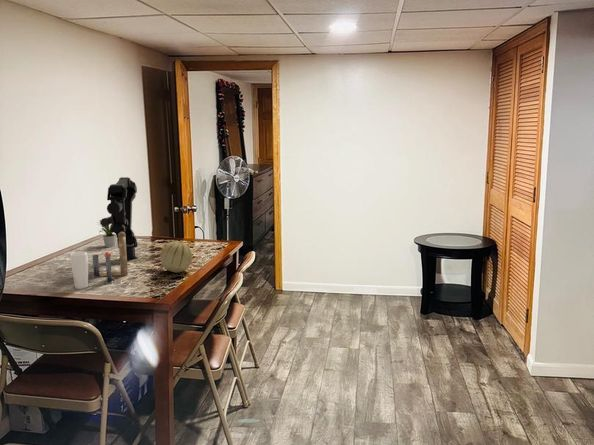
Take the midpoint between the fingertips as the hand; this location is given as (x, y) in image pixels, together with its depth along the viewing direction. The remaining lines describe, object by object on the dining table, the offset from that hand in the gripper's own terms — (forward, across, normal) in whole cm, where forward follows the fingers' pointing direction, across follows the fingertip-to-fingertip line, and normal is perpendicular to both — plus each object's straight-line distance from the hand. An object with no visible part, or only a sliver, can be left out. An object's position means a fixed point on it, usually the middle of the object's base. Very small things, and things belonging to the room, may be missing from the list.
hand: (120, 242), depth 251 cm
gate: (+12, +14, -2) cm, 18 cm away
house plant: (+12, -45, -13) cm, 49 cm away
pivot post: (+12, +14, -10) cm, 21 cm away
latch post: (+12, +24, -3) cm, 27 cm away
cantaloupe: (+12, +13, +26) cm, 32 cm away
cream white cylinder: (+12, +29, -13) cm, 34 cm away
